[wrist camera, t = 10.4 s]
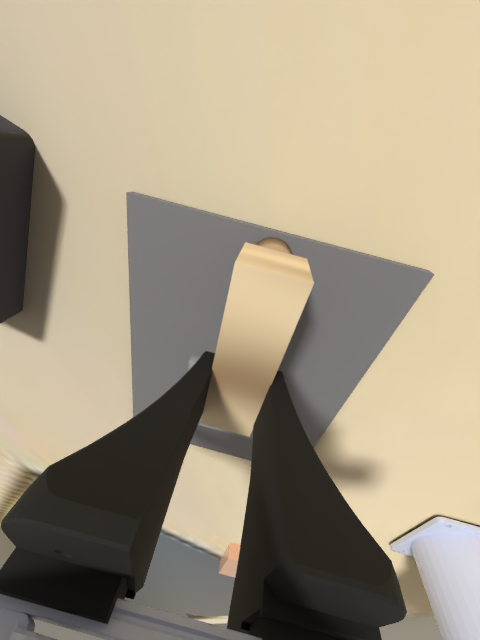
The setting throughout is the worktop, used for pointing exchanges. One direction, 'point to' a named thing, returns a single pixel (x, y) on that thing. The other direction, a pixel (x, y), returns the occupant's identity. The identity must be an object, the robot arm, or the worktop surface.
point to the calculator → (14, 214)
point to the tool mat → (210, 300)
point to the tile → (230, 560)
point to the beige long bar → (254, 333)
